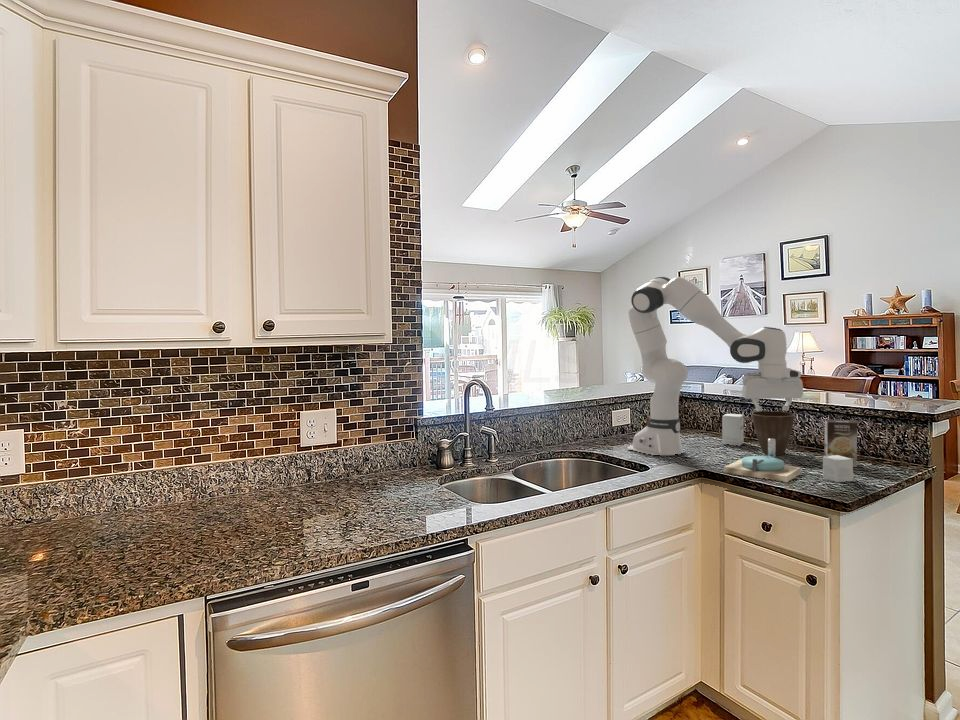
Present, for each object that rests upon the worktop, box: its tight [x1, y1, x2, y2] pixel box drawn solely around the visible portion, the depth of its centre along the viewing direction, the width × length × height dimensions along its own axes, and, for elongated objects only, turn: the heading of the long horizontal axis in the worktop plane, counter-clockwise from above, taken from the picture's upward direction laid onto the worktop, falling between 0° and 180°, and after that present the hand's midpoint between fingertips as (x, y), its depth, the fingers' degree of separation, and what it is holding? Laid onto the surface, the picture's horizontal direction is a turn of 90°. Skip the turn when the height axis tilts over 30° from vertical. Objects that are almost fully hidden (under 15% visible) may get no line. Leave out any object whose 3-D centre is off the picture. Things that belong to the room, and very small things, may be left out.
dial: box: [741, 439, 785, 471], centre depth 189 cm, size 17×13×8 cm
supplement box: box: [721, 413, 745, 447], centre depth 235 cm, size 7×7×13 cm
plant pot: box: [751, 410, 795, 456], centre depth 215 cm, size 15×15×16 cm
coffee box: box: [823, 418, 858, 467], centre depth 194 cm, size 9×6×16 cm
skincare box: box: [822, 455, 854, 483], centre depth 177 cm, size 6×6×7 cm
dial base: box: [723, 458, 802, 483], centre depth 188 cm, size 20×14×6 cm
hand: (772, 410), depth 193 cm, fingers open, 8 cm apart
